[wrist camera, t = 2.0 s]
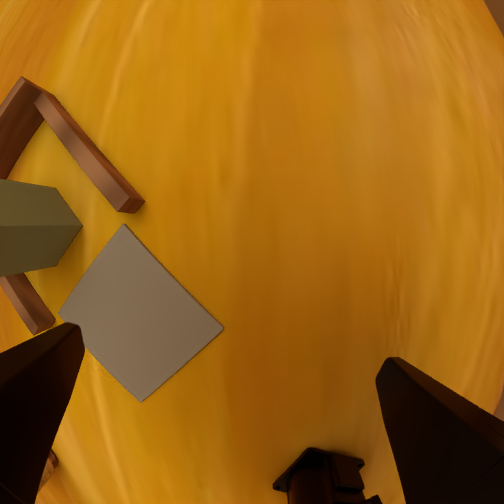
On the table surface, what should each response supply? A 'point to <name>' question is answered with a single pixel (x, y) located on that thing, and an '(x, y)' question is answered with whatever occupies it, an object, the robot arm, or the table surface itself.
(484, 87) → the table surface
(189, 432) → the table surface
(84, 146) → the frame
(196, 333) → the felt mat
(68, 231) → the green block
